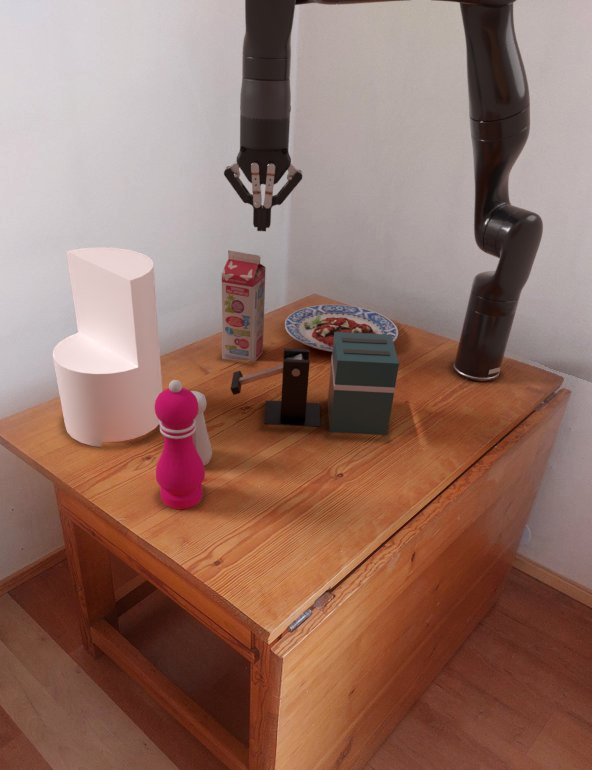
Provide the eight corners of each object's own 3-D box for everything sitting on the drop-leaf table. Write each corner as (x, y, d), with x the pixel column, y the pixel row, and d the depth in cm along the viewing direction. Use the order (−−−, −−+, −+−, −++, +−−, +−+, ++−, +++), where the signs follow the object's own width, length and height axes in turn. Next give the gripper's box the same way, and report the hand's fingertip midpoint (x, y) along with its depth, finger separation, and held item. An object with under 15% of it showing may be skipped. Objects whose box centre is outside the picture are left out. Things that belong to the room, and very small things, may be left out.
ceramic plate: (418, 337, 147) (421, 325, 145) (349, 373, 131) (351, 360, 129) (332, 304, 161) (333, 293, 159) (261, 333, 145) (261, 321, 144)
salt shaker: (170, 469, 102) (165, 399, 95) (187, 450, 106) (183, 382, 99) (202, 479, 100) (200, 408, 93) (218, 459, 105) (217, 390, 97)
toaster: (328, 437, 111) (336, 360, 103) (325, 404, 121) (333, 330, 112) (387, 440, 111) (400, 363, 103) (380, 406, 121) (392, 333, 112)
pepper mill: (213, 488, 99) (210, 373, 87) (193, 516, 93) (188, 398, 82) (171, 477, 100) (163, 364, 89) (149, 504, 95) (137, 387, 83)
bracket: (264, 429, 113) (266, 364, 105) (266, 405, 119) (268, 343, 112) (320, 432, 113) (326, 367, 105) (319, 408, 119) (325, 346, 112)
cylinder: (127, 385, 123) (111, 240, 107) (184, 421, 114) (176, 267, 98) (46, 418, 113) (15, 262, 97) (101, 459, 103) (77, 295, 87)
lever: (234, 397, 110) (229, 386, 109) (237, 381, 115) (232, 369, 114) (306, 376, 108) (301, 364, 106) (305, 360, 112) (301, 348, 111)
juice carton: (234, 346, 139) (234, 245, 127) (262, 352, 138) (266, 250, 125) (222, 359, 134) (221, 255, 122) (251, 365, 132) (253, 260, 120)
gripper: (218, 114, 93) (219, 234, 103) (309, 118, 92) (301, 238, 102) (223, 107, 99) (224, 221, 109) (308, 111, 99) (301, 225, 109)
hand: (261, 229), depth 106 cm, fingers closed
